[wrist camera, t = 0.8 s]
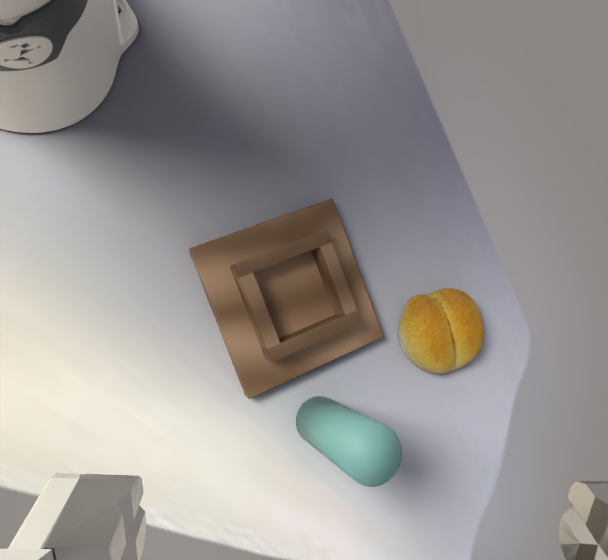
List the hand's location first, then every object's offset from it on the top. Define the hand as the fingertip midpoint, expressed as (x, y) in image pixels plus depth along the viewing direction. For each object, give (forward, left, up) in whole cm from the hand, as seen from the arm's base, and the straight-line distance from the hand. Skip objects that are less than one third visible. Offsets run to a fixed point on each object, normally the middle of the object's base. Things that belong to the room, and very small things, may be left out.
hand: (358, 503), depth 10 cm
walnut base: (-1, +10, -37) cm, 38 cm away
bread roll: (+8, +24, -37) cm, 45 cm away
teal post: (+11, +9, -37) cm, 39 cm away
